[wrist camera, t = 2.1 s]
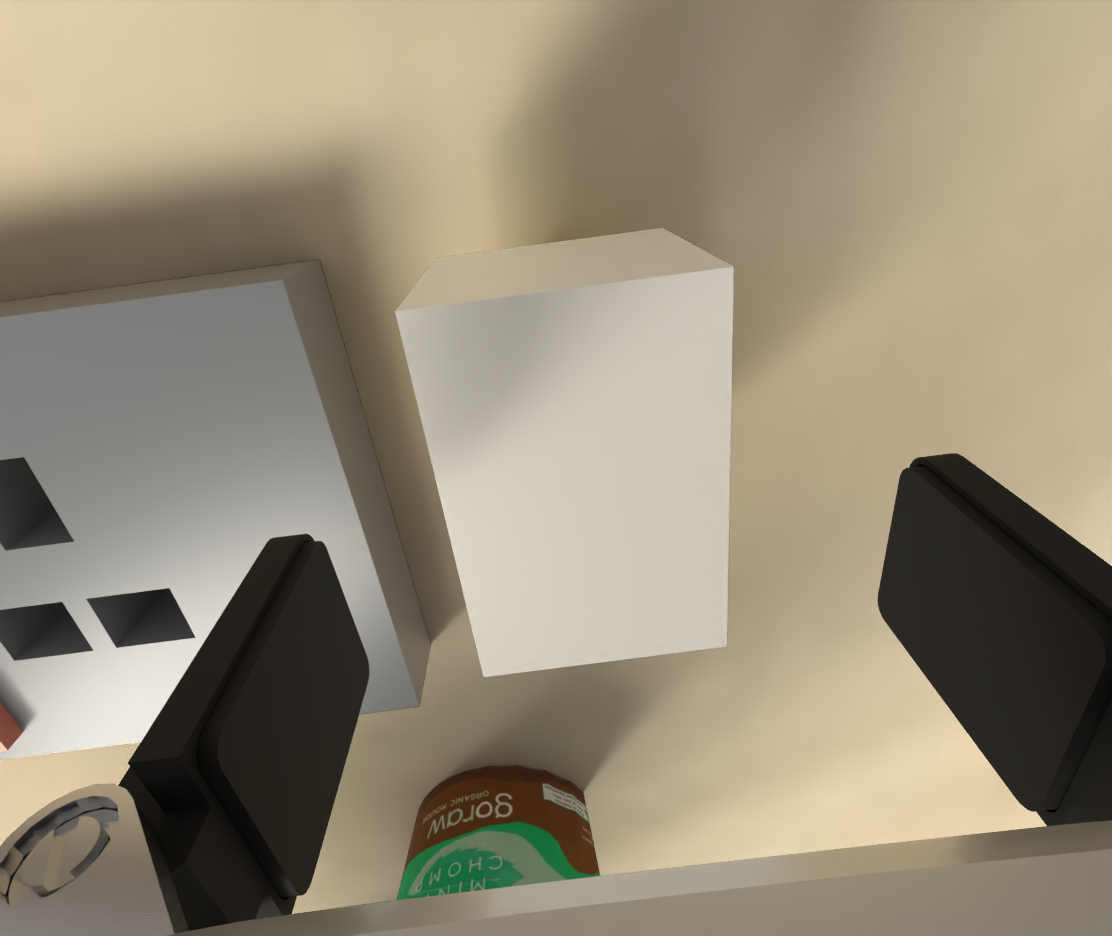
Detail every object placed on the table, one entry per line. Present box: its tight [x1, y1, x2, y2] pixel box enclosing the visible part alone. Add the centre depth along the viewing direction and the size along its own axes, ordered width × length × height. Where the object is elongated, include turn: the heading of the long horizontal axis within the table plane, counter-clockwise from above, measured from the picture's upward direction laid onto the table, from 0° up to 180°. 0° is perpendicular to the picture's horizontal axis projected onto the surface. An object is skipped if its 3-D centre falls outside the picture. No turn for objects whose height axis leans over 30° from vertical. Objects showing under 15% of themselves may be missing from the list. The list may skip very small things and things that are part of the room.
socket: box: [0, 260, 431, 760], centre depth 21 cm, size 16×20×4 cm
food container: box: [397, 766, 600, 900], centre depth 27 cm, size 12×6×10 cm, turn 122°
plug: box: [395, 228, 734, 677], centre depth 17 cm, size 9×6×9 cm, turn 7°
